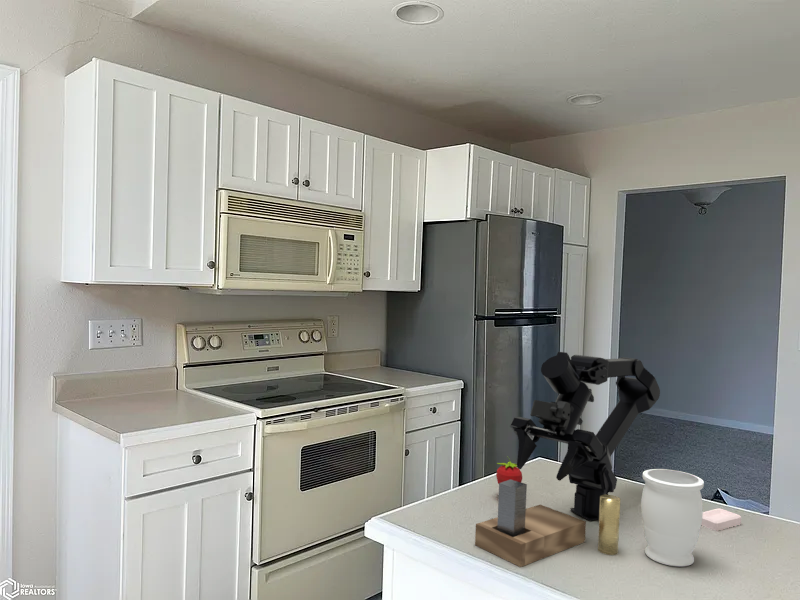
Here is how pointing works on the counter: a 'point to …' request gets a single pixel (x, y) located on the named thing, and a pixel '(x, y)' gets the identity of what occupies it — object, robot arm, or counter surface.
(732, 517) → the soap bar
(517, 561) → the socket block
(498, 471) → the strawberry
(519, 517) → the square bit
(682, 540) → the jar
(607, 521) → the round bit
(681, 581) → the counter surface
